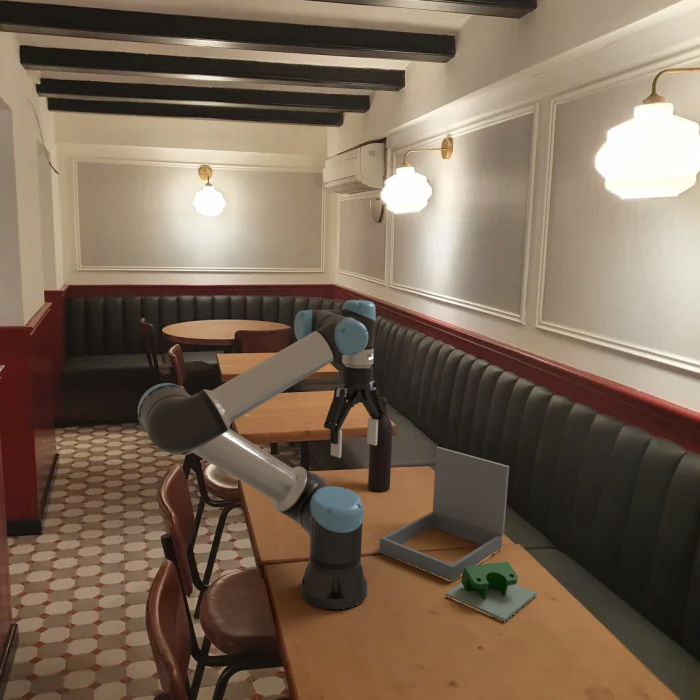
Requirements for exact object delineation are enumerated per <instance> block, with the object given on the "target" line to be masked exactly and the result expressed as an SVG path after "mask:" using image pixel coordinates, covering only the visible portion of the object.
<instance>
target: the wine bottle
mask: <svg viewBox="0 0 700 700" xmlns="http://www.w3.org/2000/svg"><path fill="white" fill-rule="evenodd" d="M381 400H382V403H383V406H384V410H385V415H382V416H383V419H382V420H380V419H379V429H378V436H377V445H376V446H375V445H372V444H369V454H368V455H369V456H368V474H367V475H368V477H367V478H368V480H367V488H368V490H370V491H372V492H375V491H376V492H377V493H385V492H388V491H389V490H390V488H391V468H392V452H393V451H392V448H393V425H392V421H391V420H390V417H389V415H388V413H387V412H388V411H387V404H388V398H387V397H385V396H381ZM379 410H380V409H379ZM376 492H375V493H376Z"/></svg>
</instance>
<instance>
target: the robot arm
mask: <svg viewBox="0 0 700 700" xmlns="http://www.w3.org/2000/svg"><path fill="white" fill-rule="evenodd" d="M376 312H377V311H376V305H375V303H374V302H373V301H370V300H363V299H350V300H346V301H344V304H343V308H340V309H308V310H300V311H298V312H297V313H296V315H295V317H294V320H293V322H294V323H293V327H294V328H293V330H294V331H293V332H294V335H295V338H296V341H295V342H294V343H292V344H290V345H288V346H287V347H285V348H283V349H282V350H279V351H278V352H276V353H275V354H273V355H271V356H269V357H267V358H266V359H264V360H263V361H261V362H259V363H258V364H256V365H254V366H252V367H251V368H249V369H247V370H245V371H244V372H241V373H240V374H238V375H237V376H235V377H233V378H231V379H229V380H227V381H226V382H225V383H223V384H221V385H219V386H218V387H216V388H214V389H212V390H209V389H205V388H204V389H202V390H201V391H198V393H195V394H193V395H190V394H189V393H188V392H187V391H186V390H185V388H183V387H182V386H180V385H178V384H175V383H170V382H165V383H163V382H162V383H158V384H156V385H153V386H151V387H150V388H149V389H147V390H146V391H145V392H144V394H142V396H141V398H140V400H139V402H138V406H137V419H138V421H139V425H140V426H141V428H142V429H143V430H144V431H145V432H146V434H147V436H148V438H149V439H150V441H151V443H152V444H153V445H154V446H155V447H157V448H158V449H159V450H161V451H163V452H166V453H170V454H180V455H183V456H187V455H190V454H192V453H193V454H195V455H196V456H198V457H200V458H202V459H203V460H204V461H207V462H209V463H210V464H211V465H213V466H215V467H217V468H218V469H220V470H222V471H223V472H225V473H227V474H228V475H230V476H232V477H234V478H235V479H236V480H238V481H240V482H242V483H243V484H245V485H247V486H249V487H250V488H252V489H254V490H255V491H257V492H258V493H260V494H261V495H264V496H265V497H267V498H268V499H271V501H272V505H273V508H274V509H275V510H276V511H277V512H279V513H281V514H283V515H284V516H286V517H288V518H290V519H291V520H292V521H294V522H296V523H297V524H299V526H300V527H302V529H303V530H304V531H305V532H306V534H307V535H308V536H309V559H308V563H307V565H306V568H305V572H304V574H303V577H302V578H301V583H300V595H301V597H302V598H303V600H304V601H305V602H306V603H307V604H309V605H310V604H311V605H310V606H312V605H313V606H312V607H315V608H318V607H319V609H321V608H324V609H323V610H326V609H343V608H349V607H352V606H355V605H357V604H358V603H360V602H362V601H363V600H364V599H365V598H366V599H367V597H366V596H368V582H367V579H366V577H365V575H364V570H363V565H362V562H361V561H362V560H361V559H362V541H363V540H362V538H363V521H364V509H363V502H362V499H361V497H360V496H359V495H358V494H357V493H356V492H354V491H353V490H351V489H349V488H344V486H343V487H342V486H334V485H331V484H329V482H327V481H326V479H324V478H323V477H322V476H321V475H318V473H313V472H311V471H309V470H308V469H306V468H304V467H302V466H295V467H290V466H289V465H288V464H287V463H284V462H283V461H281V460H279V459H278V458H277V457H275V456H273V455H272V454H270V453H268V451H265V450H264V449H262V448H261V447H259V446H257V445H256V444H254V443H253V442H251V441H249V440H248V439H246V438H245V437H243V436H242V435H241V434H239V433H237V432H235V431H234V430H232V429H231V428H230V426H231V424H232V423H233V422H235V421H237V420H239V419H240V418H242V417H243V416H244V415H246V414H248V413H250V412H252V411H253V410H255V409H256V408H258V407H260V406H261V405H263V404H265V403H267V402H268V401H270V400H271V399H273V398H274V397H277V396H278V395H279V394H281V393H283V392H284V391H286V390H287V389H289V388H291V387H292V386H294V385H296V384H298V383H299V382H301V381H302V380H304V379H306V378H307V377H309V376H312V374H314V373H315V372H317V371H320V370H321V369H323V368H324V367H326V366H327V365H329V364H331V363H333V362H335V361H336V360H337V359H339V358H342V359H341V362H342V364H343V365H342V366H341V380H342V381H343V382H344V383H343V387H342V388H339V387H335V388H334V391H333V398H332V401H331V404H330V406H329V410H328V412H327V415H326V418H325V419H324V420H325V421H324V424H323V428H324V429H327V430H329V432H330V434H329V437H330V438H329V442H330V455H331V456H333V457H336V458H338V459H341V458H342V444H343V441H342V440H343V430H341V428H342V426H343V424H344V423H345V420H346V419H347V416H348V415H349V412H350V410H351V409H352V408H354V407H355V405H359V403H360V404H362V405H363V407H364V408H365V410H366V412H367V413H368V415H369V416H370V417H369V418H367V431H366V432H367V435H366V444H369V445H370V444H372V445H375V446H376V445H377V436H378V429H379V419H380V420H382V419H383V416H382V415H385V410H384V406H383V403H382V400H381V397H382V396H381V393H380V389H379V382H378V381H376V380H374V367H373V366H372V365H373V364H374V352H375V351H374V350H375V349H374V348H375V336H376V335H375V333H376V332H375V331H376V322H377V318H376ZM379 409H380V410H379ZM366 599H365V600H366ZM365 600H364V601H365ZM364 601H363V602H364ZM363 602H362V603H363ZM357 606H358V605H357ZM355 607H356V606H355ZM349 609H350V608H349Z"/></svg>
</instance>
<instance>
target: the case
mask: <svg viewBox="0 0 700 700" xmlns="http://www.w3.org/2000/svg"><path fill="white" fill-rule="evenodd" d="M435 450H436V451H435V465H434V466H435V467H434V481H433V496H432V497H433V498H432V499H433V501H432V511H431V512H428V513H427V514H425V515H423V516H420V517H419V518H417V519H415V520H413V521H412V522H409V523H407V524H405V525H404V526H401V527H400V528H397V529H395V530H393V531H391V532H390V533H387V534H386V535H383V536H382V537H380V538H379V552H378V553H380V554H381V555H384V556H386V555H387V556H386V557H389V556H391V557H394V558H396V559H399V560H401V561H404V562H406V563H409V564H411V565H414V566H417V567H419V568H421V569H424V570H426V571H428V572H431V573H434V574H436V575H438V576H441V577H443V578H446V579H448V580H451V581H453V580H454V579H456V578H457V577H459V576H460V575H461V574H463V571H464V566H473V565H476V564H478V563H479V562H480V561H482V560H483V559H485V558H486V557H488V556H489V555H491V554H493V553H494V552H496V551H498V550H499V549H501V550H502V547H503V546H502V543H503V537H504V535H505V523H506V513H507V512H506V510H507V499H508V498H507V497H508V487H509V486H508V484H509V473H510V466H509V465H506V464H503V463H500V462H495V461H492V460H488V459H485V458H480V457H477V456H475V455H470V454H466V453H462V452H459V451H456V450H451V449H448V448H445V447H440V446H437V447H436V449H435ZM433 528H434V529H436V530H437V529H438V530H439V531H440V530H441V531H443V532H444V533H448V534H451V535H453V536H456V537H459V538H461V539H464V540H467V541H470V542H473V543H475V544H478V545H479V547H477V548H475V549H474V550H472V551H471V552H469V553H467V554H466V555H464V556H463V557H461V558H459V559H458V560H456V561H455V562H453V563H449V562H446V561H444V560H441V559H438V558H436V557H434V556H431V555H429V554H426V553H423V552H421V551H419V550H417V549H414V548H411V547H409V546H406V545H404V543H406V542H408V541H410V540H411V539H414V538H415V537H417V536H418V535H420V534H423V533H425V532H426V531H428V530H430V529H433ZM391 557H390V558H391ZM396 559H395V560H396ZM401 561H400V562H401Z"/></svg>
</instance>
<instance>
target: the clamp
mask: <svg viewBox="0 0 700 700" xmlns="http://www.w3.org/2000/svg"><path fill="white" fill-rule="evenodd" d="M518 579H519V575H518V574H517V572H516V571H515V569H514V568H513V566H511V564H510V562H509V561H499V562H492V563H491V562H490V563H484V564H483V563H481V564H480V565H473V566H464V571H463V575H462V577H461V581H460V583H462V584H463V586H464V588H465V590H466V591H474V590H478V592H479V593H480V595H481V596H482V598H483V599H486V595H487V591H488V589H489V588H494V589H497V590H498V591H500V592H501V593H502V595H503V597H505V596H506V592H507V588H508V585H515V584H516V585H517V582H518Z"/></svg>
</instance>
